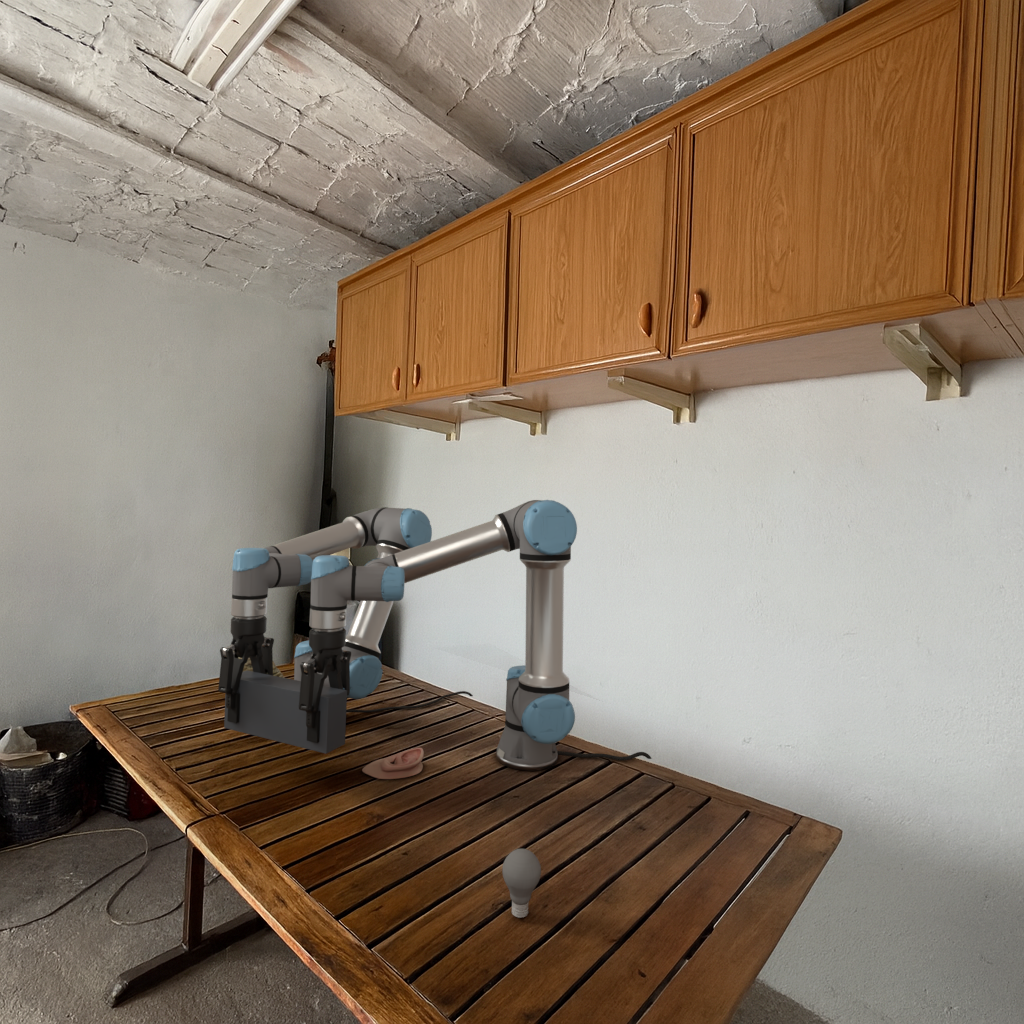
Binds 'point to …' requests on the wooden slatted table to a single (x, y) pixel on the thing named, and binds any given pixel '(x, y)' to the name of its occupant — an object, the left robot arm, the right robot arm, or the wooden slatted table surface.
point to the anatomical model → (397, 765)
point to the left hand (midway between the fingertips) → (245, 716)
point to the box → (287, 712)
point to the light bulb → (521, 878)
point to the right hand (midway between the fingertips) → (323, 735)
